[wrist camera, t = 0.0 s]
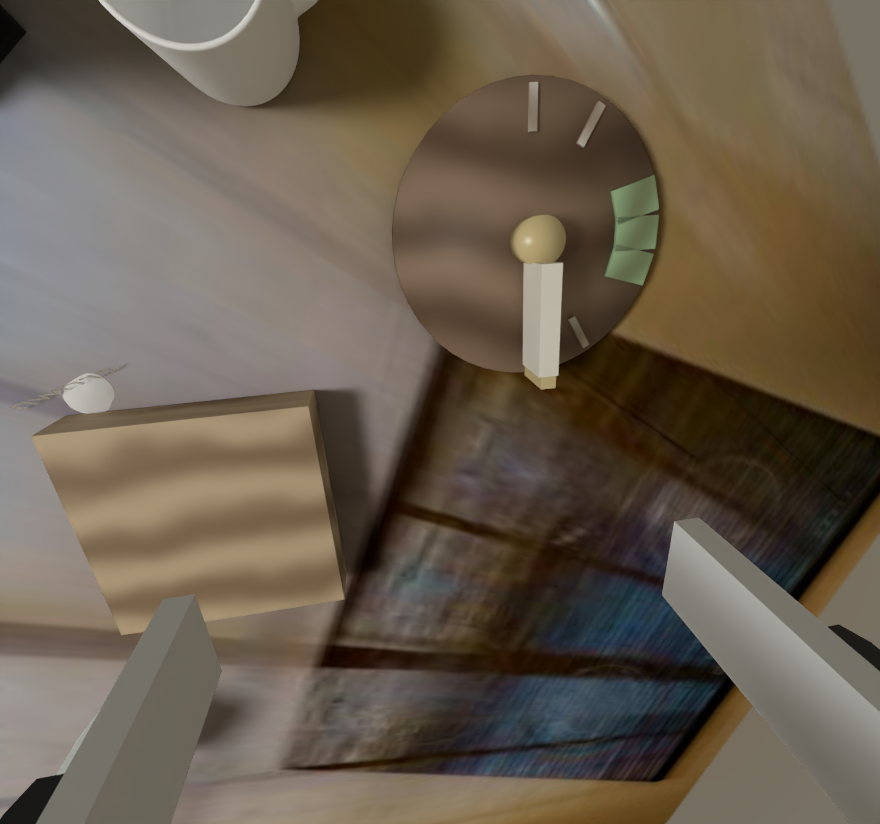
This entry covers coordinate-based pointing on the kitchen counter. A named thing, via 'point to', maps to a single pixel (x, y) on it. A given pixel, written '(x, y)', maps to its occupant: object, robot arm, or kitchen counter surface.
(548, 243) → the white bar with ball
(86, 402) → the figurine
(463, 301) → the dial
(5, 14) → the chess piece
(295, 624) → the kitchen counter surface
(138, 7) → the mug
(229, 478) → the block
